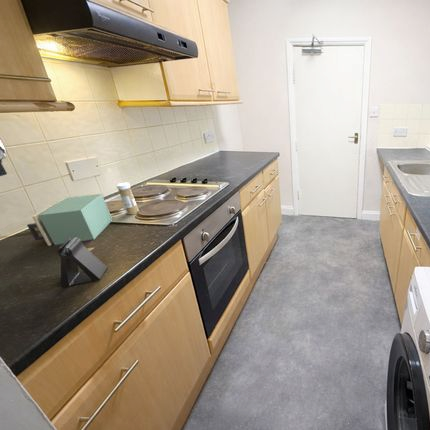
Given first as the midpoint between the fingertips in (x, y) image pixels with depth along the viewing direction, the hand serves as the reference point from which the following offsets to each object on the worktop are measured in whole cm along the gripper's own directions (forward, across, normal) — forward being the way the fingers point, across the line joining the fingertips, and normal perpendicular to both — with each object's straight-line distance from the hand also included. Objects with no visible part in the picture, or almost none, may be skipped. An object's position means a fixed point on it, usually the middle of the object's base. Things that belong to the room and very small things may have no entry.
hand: (0, 175), depth 93 cm
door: (+23, +12, -2) cm, 26 cm away
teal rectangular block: (+23, +21, +1) cm, 31 cm away
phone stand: (+23, +46, -26) cm, 57 cm away
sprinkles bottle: (+23, +27, +18) cm, 40 cm away
